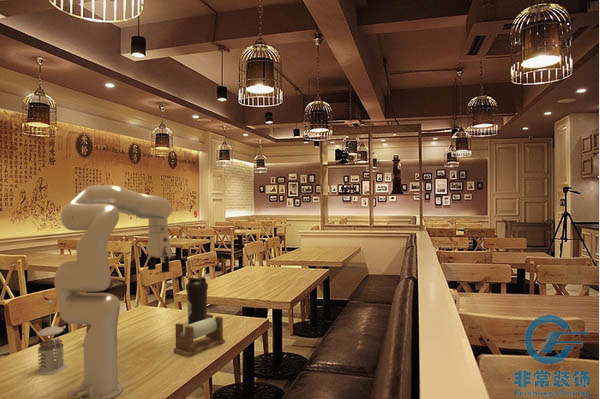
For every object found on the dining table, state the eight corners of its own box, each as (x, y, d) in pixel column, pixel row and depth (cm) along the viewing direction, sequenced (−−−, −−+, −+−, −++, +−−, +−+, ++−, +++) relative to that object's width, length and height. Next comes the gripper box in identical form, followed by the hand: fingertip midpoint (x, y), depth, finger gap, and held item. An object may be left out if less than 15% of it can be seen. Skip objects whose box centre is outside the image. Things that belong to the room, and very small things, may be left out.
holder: (188, 357, 158) (188, 328, 158) (173, 352, 164) (173, 324, 164) (224, 342, 174) (224, 316, 174) (210, 338, 179) (209, 313, 179)
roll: (181, 345, 161) (188, 337, 158) (174, 333, 163) (181, 324, 160) (218, 332, 176) (225, 324, 173) (211, 320, 178) (217, 312, 176)
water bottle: (184, 324, 199) (184, 277, 199) (205, 321, 204) (205, 275, 203) (188, 330, 190) (187, 280, 190) (210, 327, 194) (209, 278, 194)
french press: (60, 361, 156) (59, 295, 155) (73, 369, 148) (72, 300, 148) (30, 370, 148) (29, 301, 148) (43, 379, 141) (41, 306, 140)
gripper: (178, 230, 169) (178, 271, 169) (154, 228, 180) (154, 267, 180) (162, 231, 163) (162, 274, 163) (138, 229, 174) (138, 270, 174)
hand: (158, 270), depth 171 cm, fingers open, 9 cm apart
